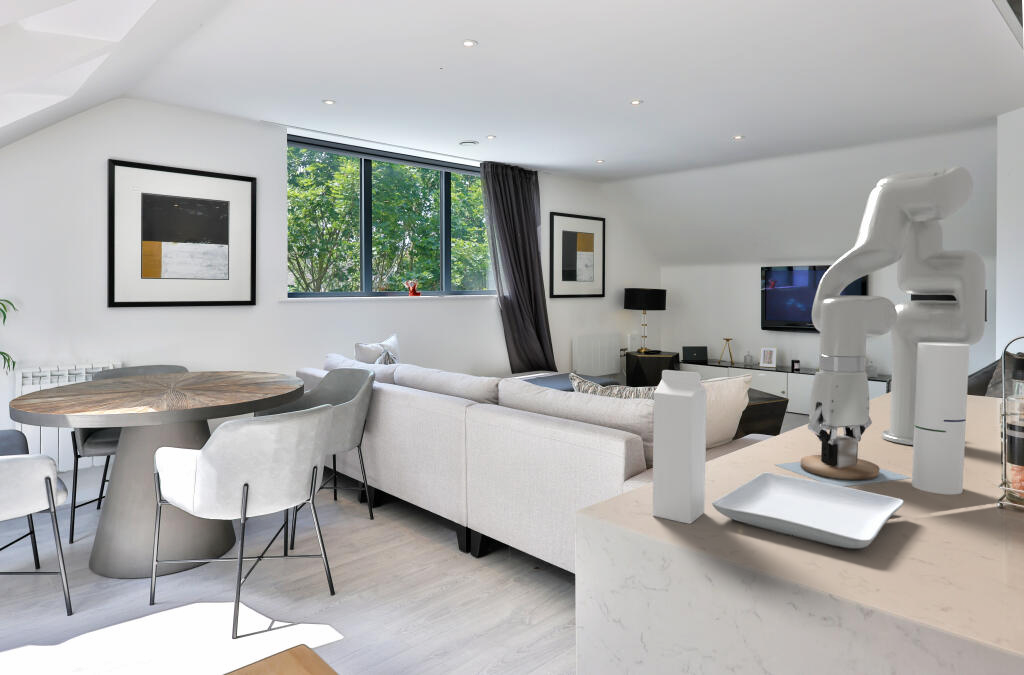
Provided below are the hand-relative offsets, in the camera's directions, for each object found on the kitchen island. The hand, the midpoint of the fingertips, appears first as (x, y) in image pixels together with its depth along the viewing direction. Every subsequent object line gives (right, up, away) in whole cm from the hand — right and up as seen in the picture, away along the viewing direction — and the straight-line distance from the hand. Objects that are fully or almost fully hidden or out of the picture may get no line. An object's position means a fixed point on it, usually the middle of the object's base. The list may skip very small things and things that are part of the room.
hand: (839, 461), depth 117 cm
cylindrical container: (+11, -3, -10) cm, 15 cm away
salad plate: (-17, -5, -23) cm, 29 cm away
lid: (0, -1, 0) cm, 1 cm away
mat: (0, -2, 0) cm, 2 cm away
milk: (-35, -4, -21) cm, 41 cm away
